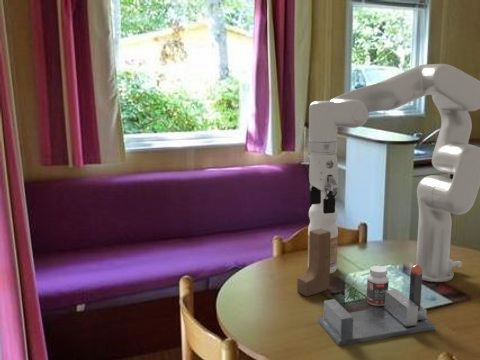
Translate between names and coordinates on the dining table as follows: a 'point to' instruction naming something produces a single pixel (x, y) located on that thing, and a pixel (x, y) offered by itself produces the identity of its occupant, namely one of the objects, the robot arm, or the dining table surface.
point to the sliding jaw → (407, 300)
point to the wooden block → (316, 264)
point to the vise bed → (365, 324)
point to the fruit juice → (325, 228)
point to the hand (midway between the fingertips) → (321, 208)
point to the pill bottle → (377, 285)
